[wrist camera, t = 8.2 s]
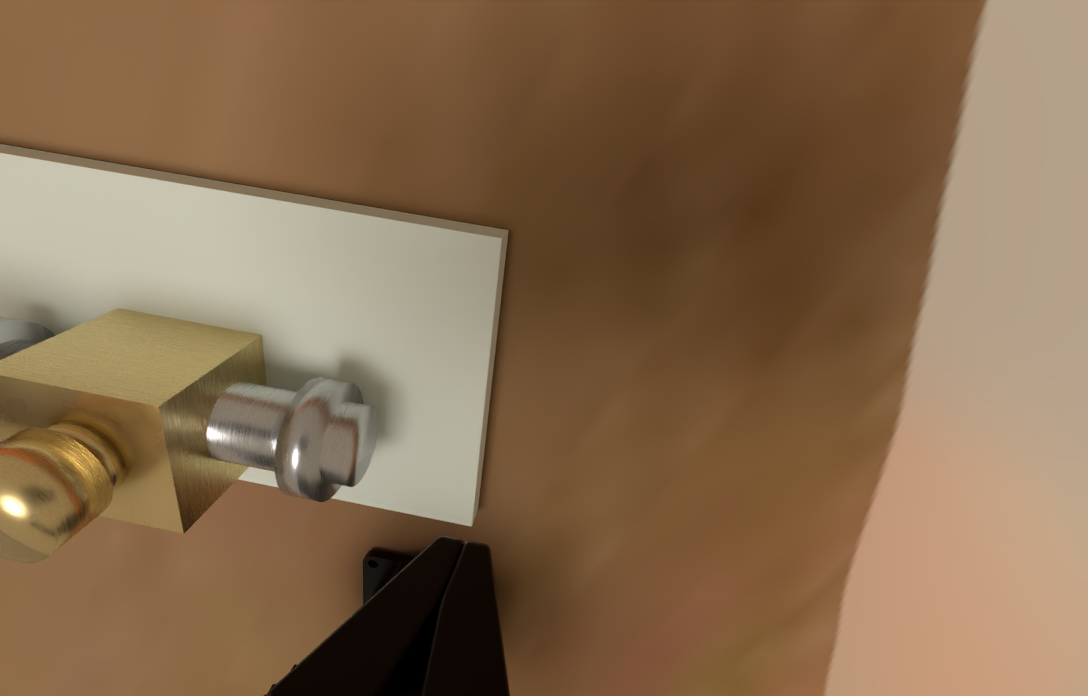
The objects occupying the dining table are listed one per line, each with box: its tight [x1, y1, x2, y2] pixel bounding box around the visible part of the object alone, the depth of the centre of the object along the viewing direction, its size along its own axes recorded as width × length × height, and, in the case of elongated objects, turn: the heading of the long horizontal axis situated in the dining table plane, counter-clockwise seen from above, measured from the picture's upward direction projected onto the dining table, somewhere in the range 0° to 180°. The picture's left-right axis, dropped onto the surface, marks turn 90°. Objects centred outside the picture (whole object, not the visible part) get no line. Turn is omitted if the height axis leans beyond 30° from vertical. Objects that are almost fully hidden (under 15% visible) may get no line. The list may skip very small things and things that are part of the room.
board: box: [0, 144, 509, 527], centre depth 23 cm, size 13×24×1 cm, turn 83°
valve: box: [0, 308, 378, 534], centre depth 21 cm, size 16×5×6 cm, turn 83°
